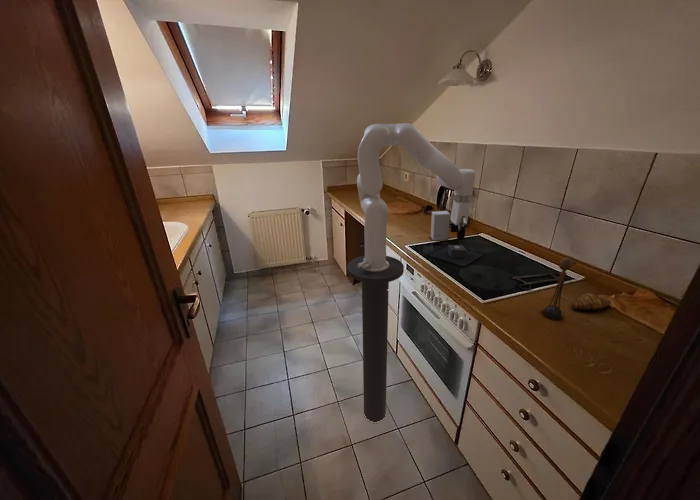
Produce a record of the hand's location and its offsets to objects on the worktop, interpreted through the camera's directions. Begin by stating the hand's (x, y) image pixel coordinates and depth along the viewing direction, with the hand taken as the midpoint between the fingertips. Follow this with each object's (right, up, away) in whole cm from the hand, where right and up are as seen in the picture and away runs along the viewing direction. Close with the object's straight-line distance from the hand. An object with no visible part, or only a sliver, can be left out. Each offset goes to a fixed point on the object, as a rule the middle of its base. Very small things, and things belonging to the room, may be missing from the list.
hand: (457, 235), depth 136 cm
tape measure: (+1, -9, +4) cm, 10 cm away
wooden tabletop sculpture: (+16, -28, -41) cm, 52 cm away
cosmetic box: (-1, -1, +25) cm, 25 cm away
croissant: (+30, -26, -38) cm, 55 cm away
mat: (+1, -9, +4) cm, 10 cm away
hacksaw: (+26, -19, -22) cm, 39 cm away
